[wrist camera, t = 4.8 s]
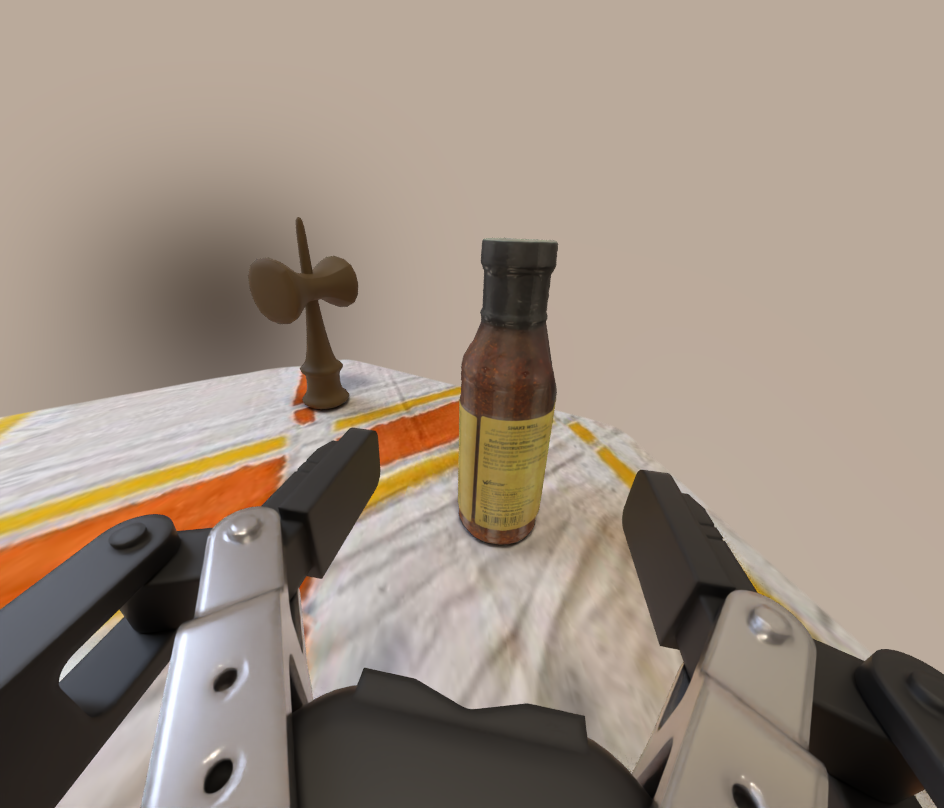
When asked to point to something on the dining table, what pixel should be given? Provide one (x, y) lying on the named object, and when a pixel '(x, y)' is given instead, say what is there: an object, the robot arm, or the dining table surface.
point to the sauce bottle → (507, 393)
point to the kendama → (307, 312)
